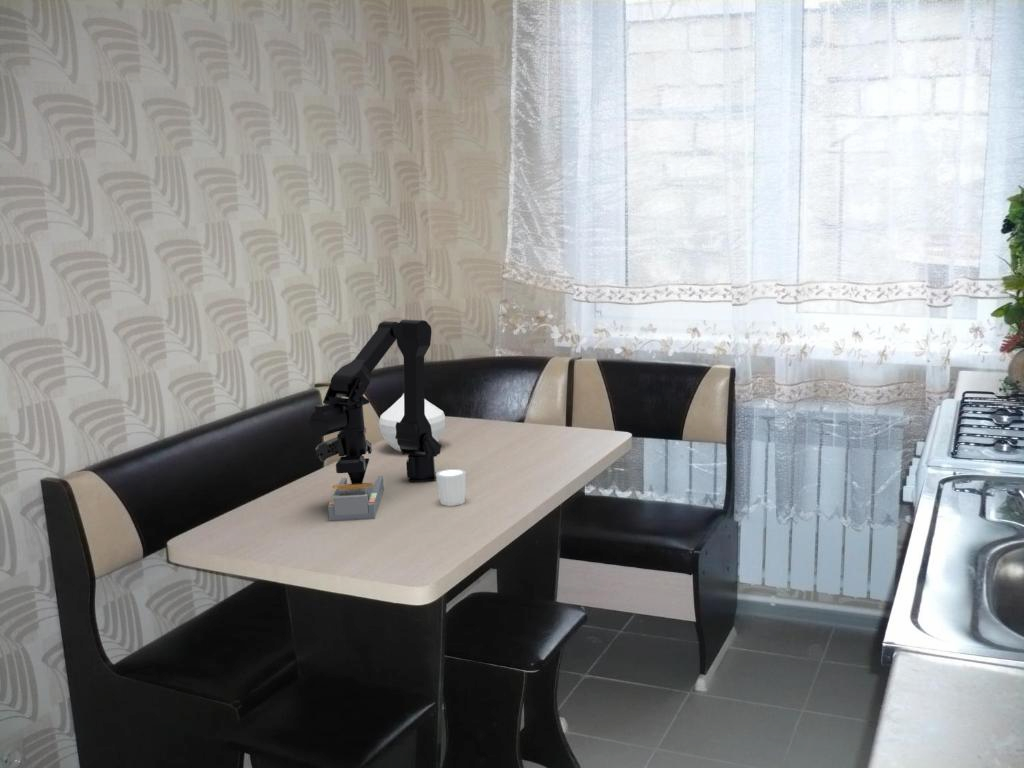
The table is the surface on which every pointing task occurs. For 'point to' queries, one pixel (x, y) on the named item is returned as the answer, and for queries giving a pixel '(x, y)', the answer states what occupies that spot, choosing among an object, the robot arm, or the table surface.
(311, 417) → the robot arm
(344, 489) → the gauge sled
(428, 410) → the vase
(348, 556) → the table surface
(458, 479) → the shot glass
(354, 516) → the track
